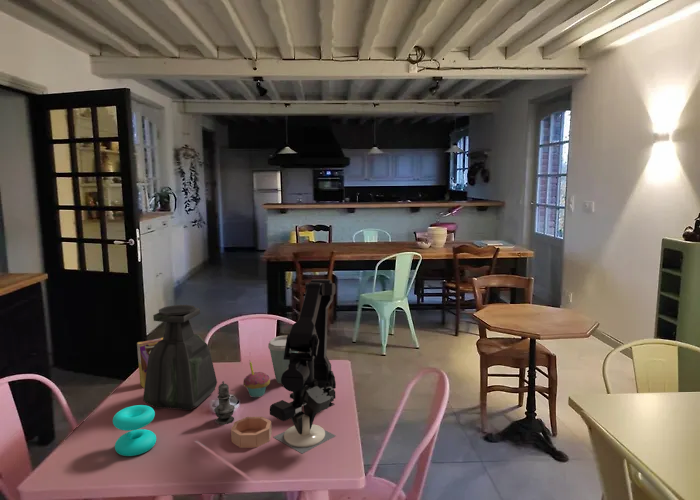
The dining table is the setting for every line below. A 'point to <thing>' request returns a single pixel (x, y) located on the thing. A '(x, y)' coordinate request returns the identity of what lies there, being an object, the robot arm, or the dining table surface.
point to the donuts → (134, 430)
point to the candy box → (145, 357)
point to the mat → (304, 449)
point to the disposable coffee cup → (279, 356)
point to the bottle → (179, 363)
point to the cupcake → (256, 383)
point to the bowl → (251, 432)
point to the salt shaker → (224, 406)
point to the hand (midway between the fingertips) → (304, 431)
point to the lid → (304, 434)
